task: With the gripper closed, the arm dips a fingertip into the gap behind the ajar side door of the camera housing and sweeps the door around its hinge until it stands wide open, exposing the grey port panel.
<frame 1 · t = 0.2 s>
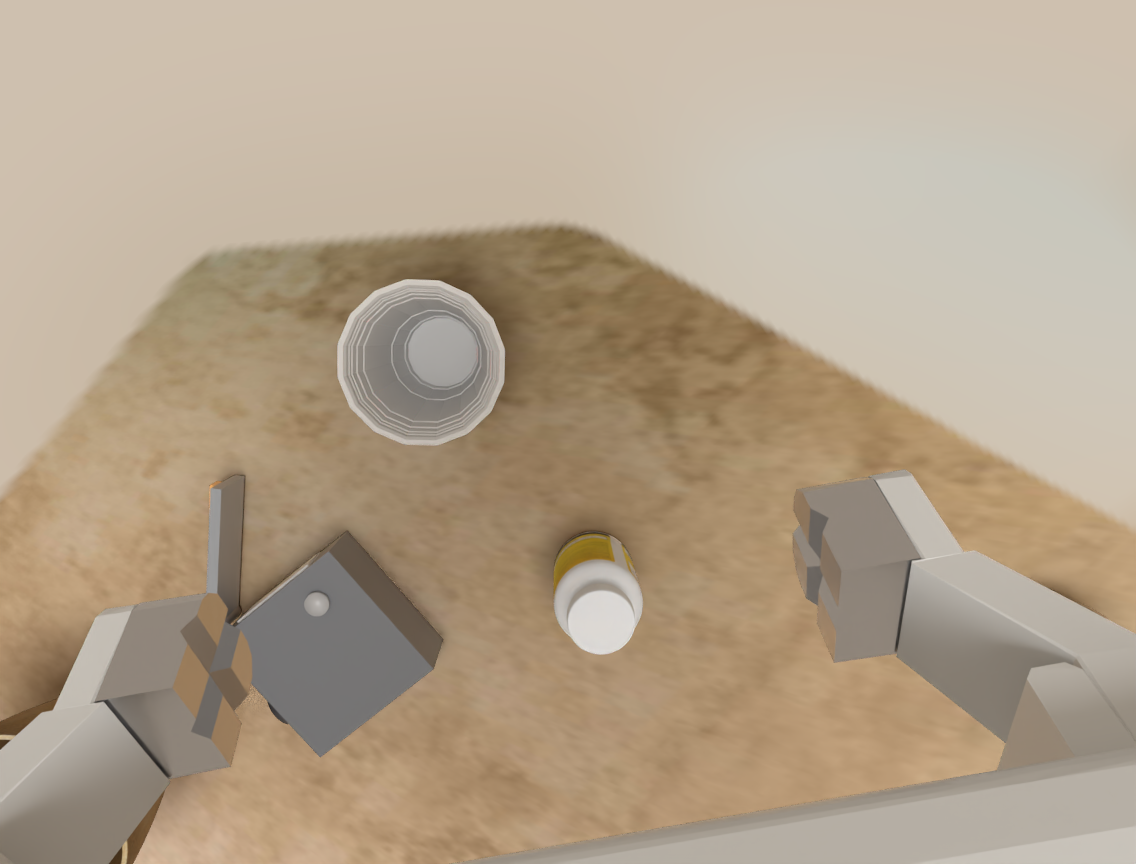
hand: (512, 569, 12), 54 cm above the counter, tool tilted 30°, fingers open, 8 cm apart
side door: (220, 556, 65), point 3 cm above the counter, hinge at 45.0°
camera housing: (342, 627, 69), on the counter
plant pot: (135, 718, 70), on the counter
plastic cup: (446, 351, 65), on the counter
pill bottle: (593, 566, 68), on the counter
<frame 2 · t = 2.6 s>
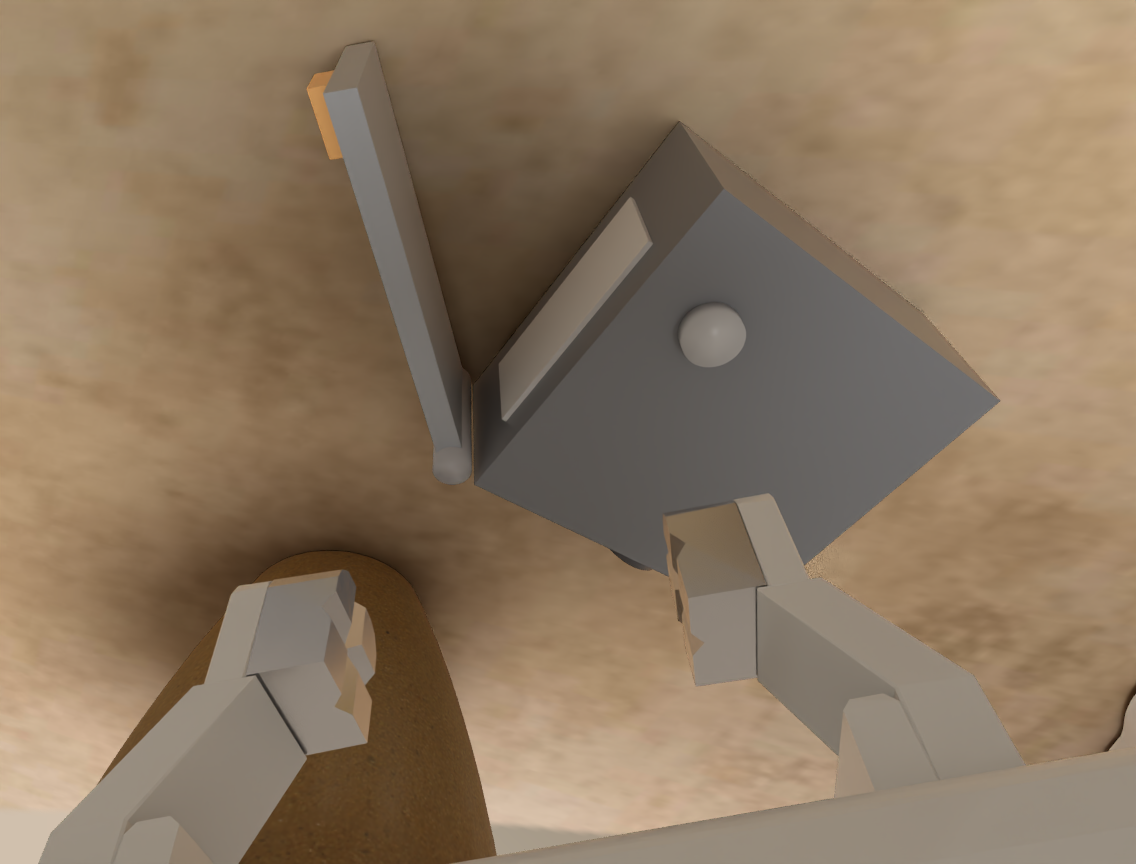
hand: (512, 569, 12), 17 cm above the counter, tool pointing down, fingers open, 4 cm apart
side door: (403, 280, 24), point 3 cm above the counter, hinge at 45.0°
camera housing: (698, 349, 30), on the counter
plant pot: (332, 601, 37), on the counter
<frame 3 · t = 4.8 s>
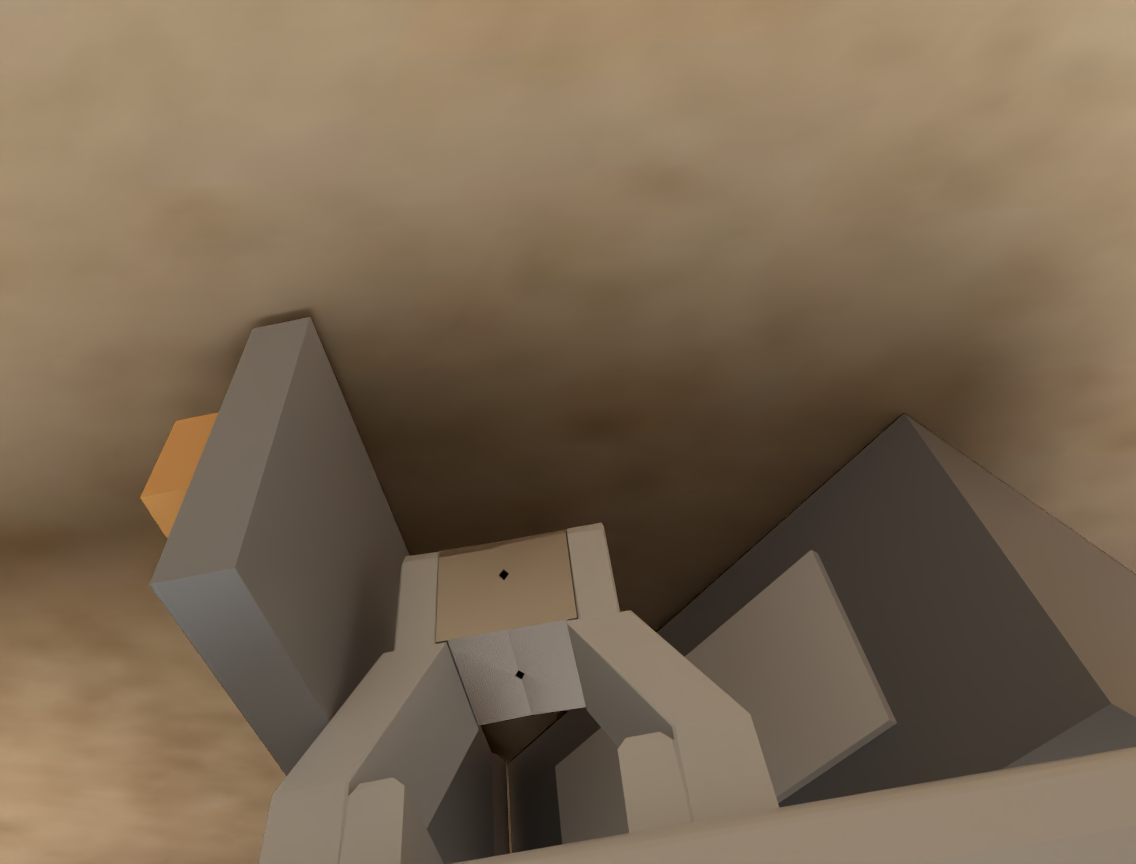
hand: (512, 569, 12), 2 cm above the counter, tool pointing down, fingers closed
side door: (383, 736, 13), point 3 cm above the counter, hinge at 46.4°, touching gripper
camera housing: (874, 705, 19), on the counter
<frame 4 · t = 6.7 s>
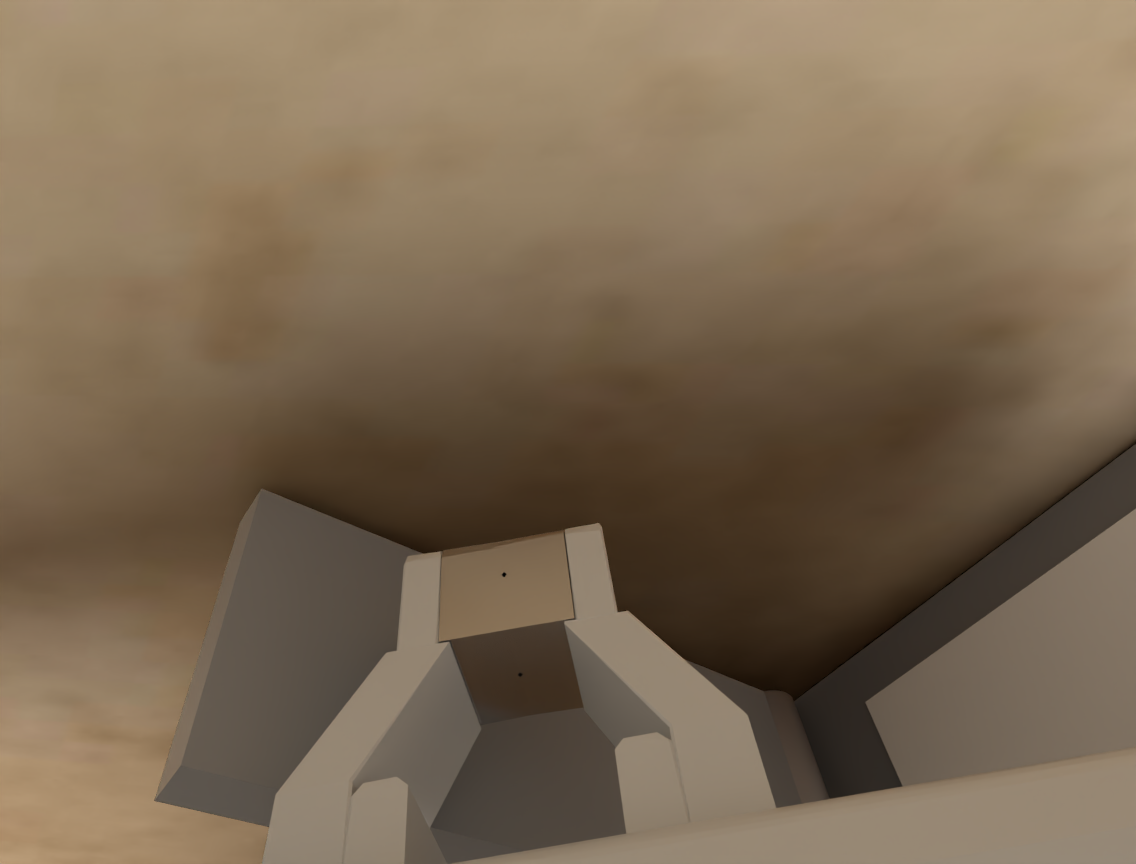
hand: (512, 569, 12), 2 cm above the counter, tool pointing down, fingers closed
side door: (567, 757, 14), point 3 cm above the counter, hinge at 90.5°, touching gripper
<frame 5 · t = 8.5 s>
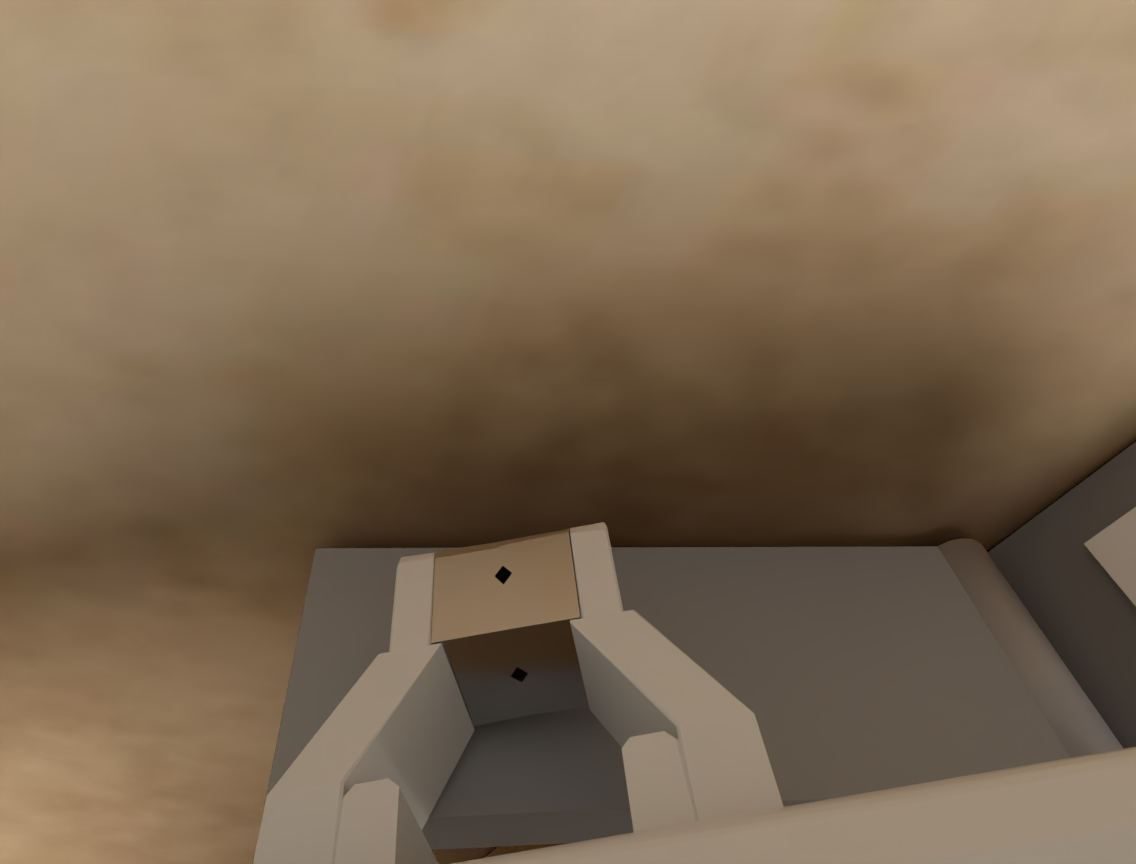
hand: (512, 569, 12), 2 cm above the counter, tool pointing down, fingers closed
side door: (697, 694, 13), point 3 cm above the counter, hinge at 121.1°, touching gripper
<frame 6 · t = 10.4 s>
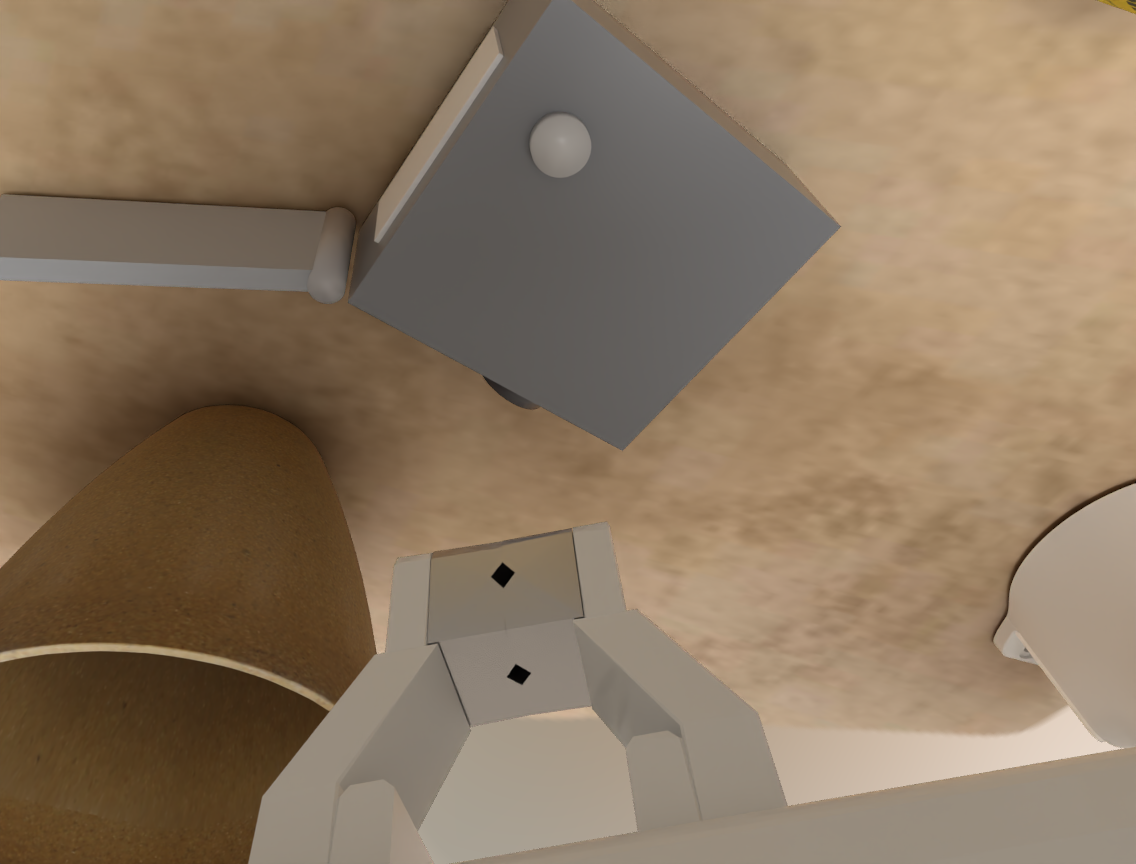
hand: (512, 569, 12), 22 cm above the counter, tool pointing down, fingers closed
side door: (171, 252, 28), point 3 cm above the counter, hinge at 121.3°
camera housing: (574, 197, 32), on the counter
plant pot: (237, 461, 38), on the counter
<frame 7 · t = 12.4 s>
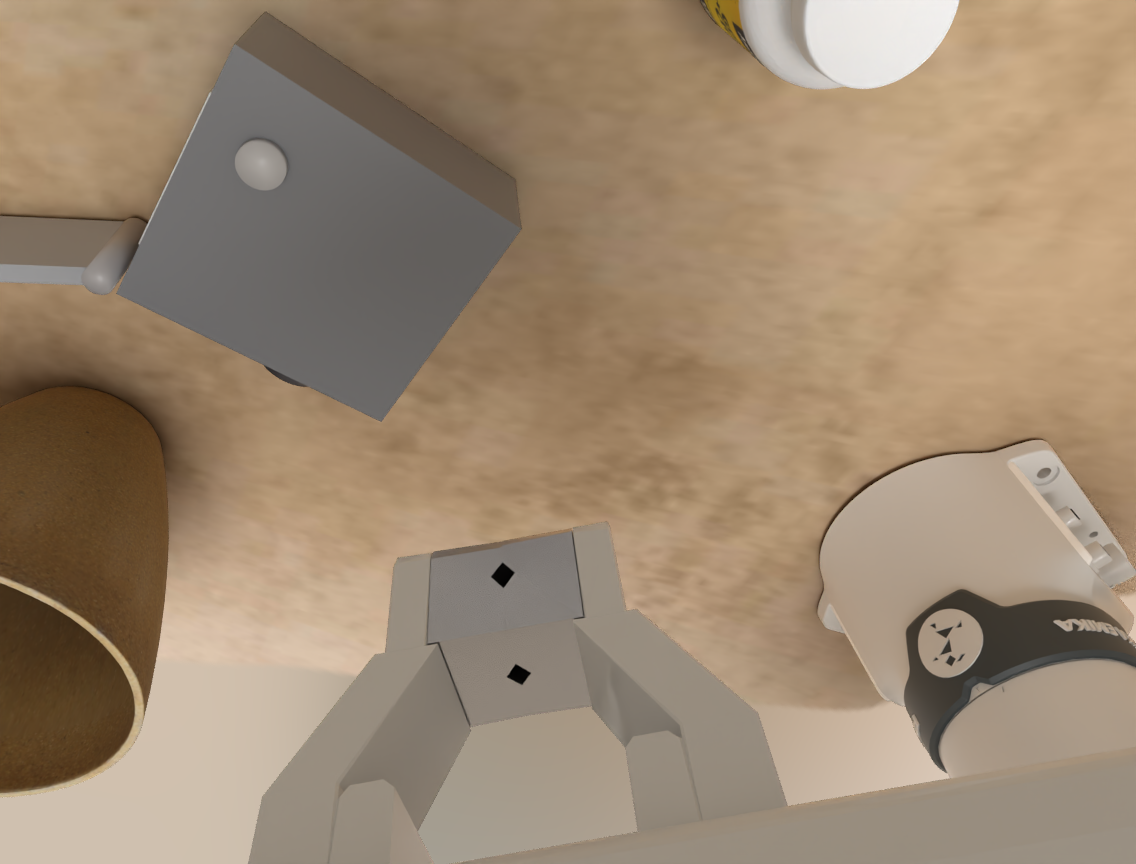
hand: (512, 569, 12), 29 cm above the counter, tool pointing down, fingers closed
camera housing: (335, 208, 38), on the counter
plant pot: (86, 436, 44), on the counter
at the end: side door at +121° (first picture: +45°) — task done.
